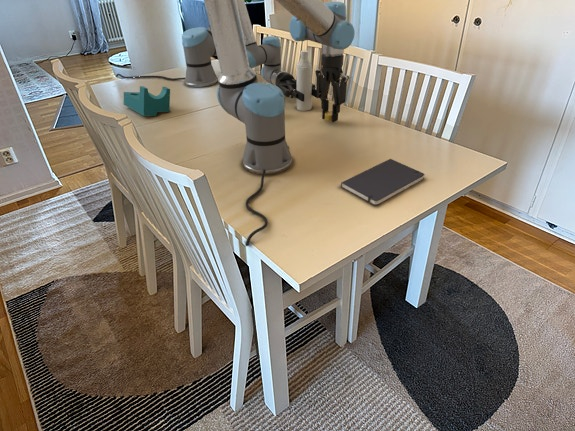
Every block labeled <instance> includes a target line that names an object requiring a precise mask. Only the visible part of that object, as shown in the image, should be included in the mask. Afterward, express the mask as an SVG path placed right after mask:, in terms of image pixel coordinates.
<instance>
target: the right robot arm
mask: <svg viewBox="0 0 575 431" xmlns="http://www.w3.org/2000/svg"><path fill="white" fill-rule="evenodd" d="M275 1H276V2H277V3H278V4H279V5H280V6H282V7H283V8H284V9H285V10H286V11H287V12H288V13H290V14H291V15H292V17H291V19H289V20H290V21H289V30H288V31H289V34H290V36H291V38H292V39H293V40H294V41H295V42H305V41H309V42H314V43H316V44H319V45H321V50H320V51H321V53H322V54H321V56H320V57H321V58H320V61H321V62H320V65H321V68H318V69H315V71H314V73H315V77H316V90H317V98H316V99H320V109H321V110H322V111H321V119H322V120H325V112H327V111H330V109H329V108H330V100H329V92H330V87H331V86H332V94H333V103H332V108H331V111H332V121H331V123H336V122H338V121H339V114H340V112H341V105H343V104H346V100H347V88H348V81H349V80H350V75H345V73H344V71H343V66H344V53H345V49H347V48H349V47H350V46H351V45H352V43H353V41H354V39H355V34H356V33H355V27H354V25H353V24H352V23H351V22H349V21H347V5H346V4H345V2H342V1H326V2H323V1H322V0H275ZM203 3H204V7H205V11H206V14H207V15H206V16H207V19H208V23H209V25H210V28H211V32H212V36H213V40H214V44H215V48H216V52H217V55H216V56H217V60H218V64H219V68H220V74H219V76H217V80H218V82H217V83H218V87H217V90H216V98H217V101H218V103H219V105H220V107H221V108H222V109H223V110H224V111H225V112H226V113H227V114H228V115H230V116H232V117H234V118H235V119H236V120H238V121H239V122H241V123H243V124H244V125H245V136H246V137H245V138H246V143H245V146H244V151H243V155H242V166H243V168H244V170H246V171H247V172H249V173H252V174H254V175H255V174H256V175H261V179H260V187H259V188H258V190H257V191H256V192H254V193H252V194H251V195H250V196H249V197H248V198H247V199H246V201H245V207H246V209H248V211H249V212H251V213H253V214H254V215H257V216H259V217H260V218H262V219H263V221H264V224H263V225H262V226H261V227H258V228H257V229H255V230H253V231H252V232H250V234H249V235H248V236H247V239H246V242H245V246H246V247H248V246H250V242H251V240H252V238H253V237H254V236H255V235H256V234H258V233H259V232H262V231H263V230H265V229H266V228H267V226H268V224H269V222H268V219H267V217H266V216H265V215H264V214H262V213H261V212H258V211H256V210H254V209H253V208H252V207H250V205H249V203H250V202H251V200H252V199H254V198H255V197H256V196H257V195H259V194H260V193H261V192H262V190H263V187H264V181H265V176H269V175H277V174H280V173H283V172H286V171H287V170H289V169H290V167H291V166H292V163H293V158H292V153H291V150H290V146H289V145H288V143H287V140H286V115H285V114H286V112H285V110H286V109H285V107H286V102H285V95H283V92H282V90H281V89H280V88H279V87H277V86H275V85H273V84H271V83H267V82H258V77H257V72H256V70H255V69H254V68H250V67H249V62H248V57H247V51H246V46H245V41H244V36H243V31H242V26H241V21H240V16H239V11H238V5H237V0H203ZM250 310H251V312H250V313H251V319H252V329H253V337H254V346H255V354H256V359H257V360H260V352H259V341H258V333H257V323H256V316H255V308H253V307H252V308H250Z"/></svg>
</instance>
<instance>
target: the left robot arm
mask: <svg viewBox="0 0 575 431" xmlns="http://www.w3.org/2000/svg"><path fill="white" fill-rule="evenodd" d="M237 5H238V11H239V16H240V21H241V26H242V31H243V36H244V41H245V46H246V51H247V57H248V62H249V67H250V68H252V69H254V68H256V67H259V66H262V65H263V66H262V68H261V70H260V74H261V75H260V76H261V78H262V79H263V80H264V81H265V82H266V83H267V84H273V85H275V86H277V87H279V88H280V89H281V90H282V92H283V95H284V97H286V98H289V97H290V99H294V98H296V100H297V99H299V100H301V101H302V102H303V101H304V94H303V93H301V92H299V91H297V79H295V77H294V75H293V74H291V73H290V72H287V71H285V70H283V69H282V53H281V52H282V49H281V48H282V46H281V39H280V37H278V36H276V35H275V36H274V35H270V36H265V37H263V38H262V44H259V45H258V42H257V40H256V37H255V32H254V29H253V25H252V22H251V19H250V16H249V11H248V9H247V5H246V1H245V0H237ZM181 44H182V47H183V54H184V59H185V66H186V68H185V69H186V70H185V77H174V78H173V77H167V76H165V75H136V76H135V75H134V76H124V75H122V74H121V73H117V74H116V75H115V77H116V78H118V77H121V78H122V79H127V80H128V79H129V80H130V79H142V78H144V79H145V78H146V79H147V78H158V79H164V80H169V81H181V80H184V83H185V86H187V87H190V88H206V87H211V86H214V85H216V84H218V83H219V82H218V76H217V74H216V71H215V69H214V67H213V65H212V57H215V56H217V52H216V48H215V44H214V40H213V36H212V32H211V28H210V24H209V25H208V28H206V27H203V26H197V27H192V28H189V29H187V30H185V31H183V33H182V34H181ZM139 76H140V77H139ZM133 77H135V78H133ZM312 97H313V98H316V99H318V98H317V88H316V84H314V83H312Z"/></svg>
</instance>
